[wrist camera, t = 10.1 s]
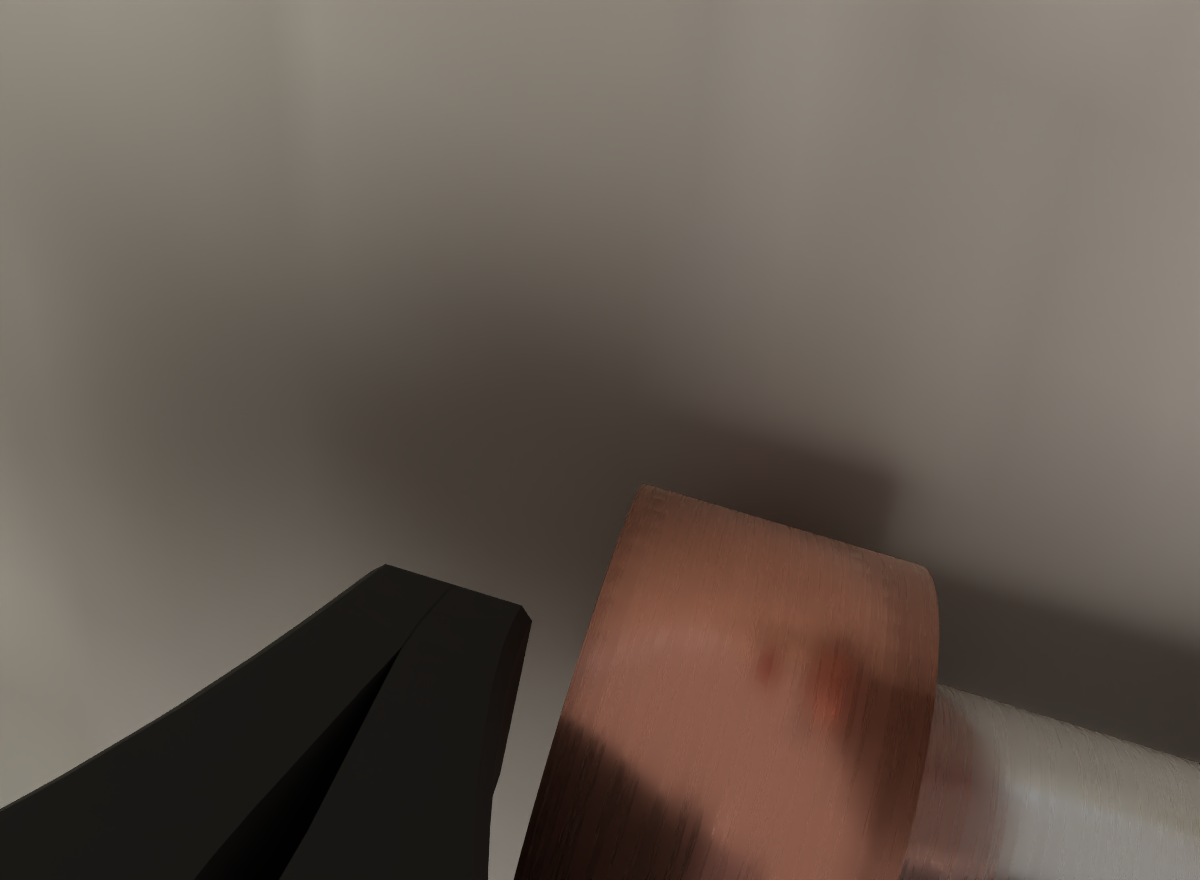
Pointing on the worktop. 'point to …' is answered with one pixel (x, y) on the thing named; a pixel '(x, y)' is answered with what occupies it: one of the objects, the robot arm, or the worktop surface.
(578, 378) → the worktop surface
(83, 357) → the worktop surface
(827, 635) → the inner knob
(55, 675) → the worktop surface
